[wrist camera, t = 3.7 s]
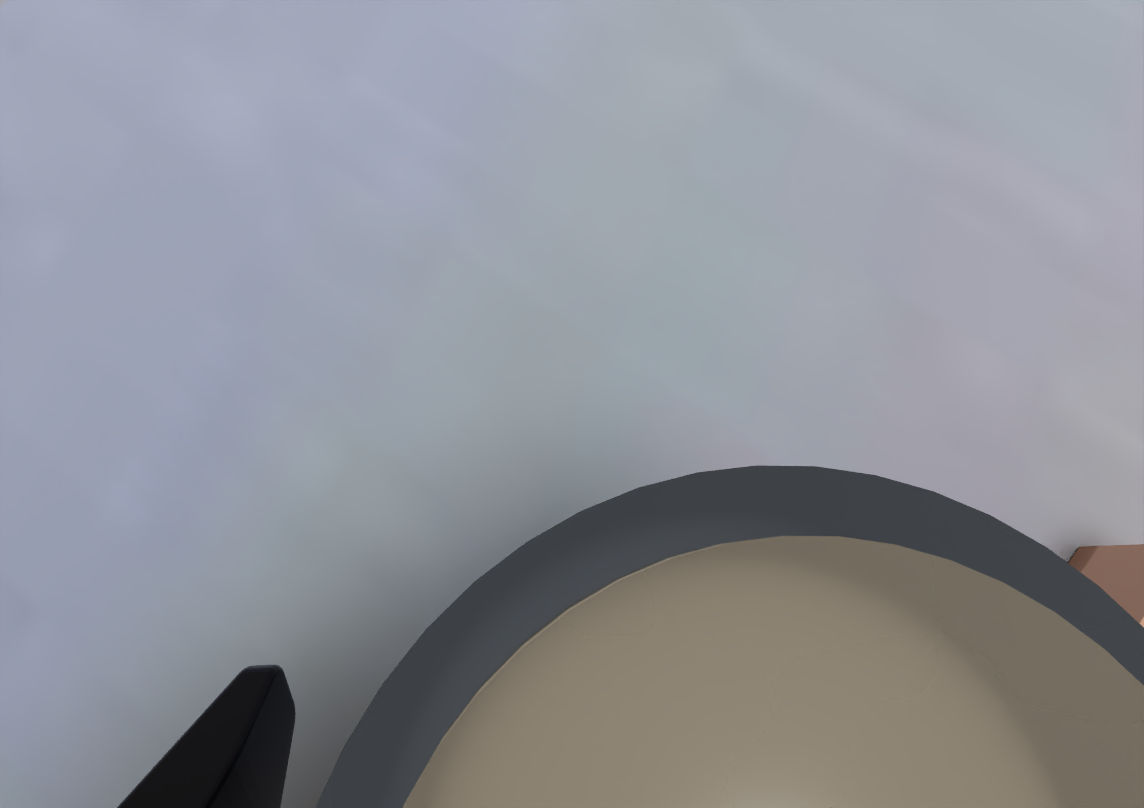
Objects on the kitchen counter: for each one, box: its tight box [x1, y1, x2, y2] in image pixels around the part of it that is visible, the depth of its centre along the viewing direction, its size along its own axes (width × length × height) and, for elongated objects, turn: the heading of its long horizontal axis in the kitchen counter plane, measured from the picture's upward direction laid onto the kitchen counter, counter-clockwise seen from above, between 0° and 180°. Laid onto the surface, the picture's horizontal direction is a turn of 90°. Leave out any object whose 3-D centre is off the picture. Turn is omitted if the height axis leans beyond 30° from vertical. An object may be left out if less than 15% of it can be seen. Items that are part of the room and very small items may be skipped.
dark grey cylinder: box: [316, 466, 1144, 808], centre depth 10 cm, size 5×5×13 cm
